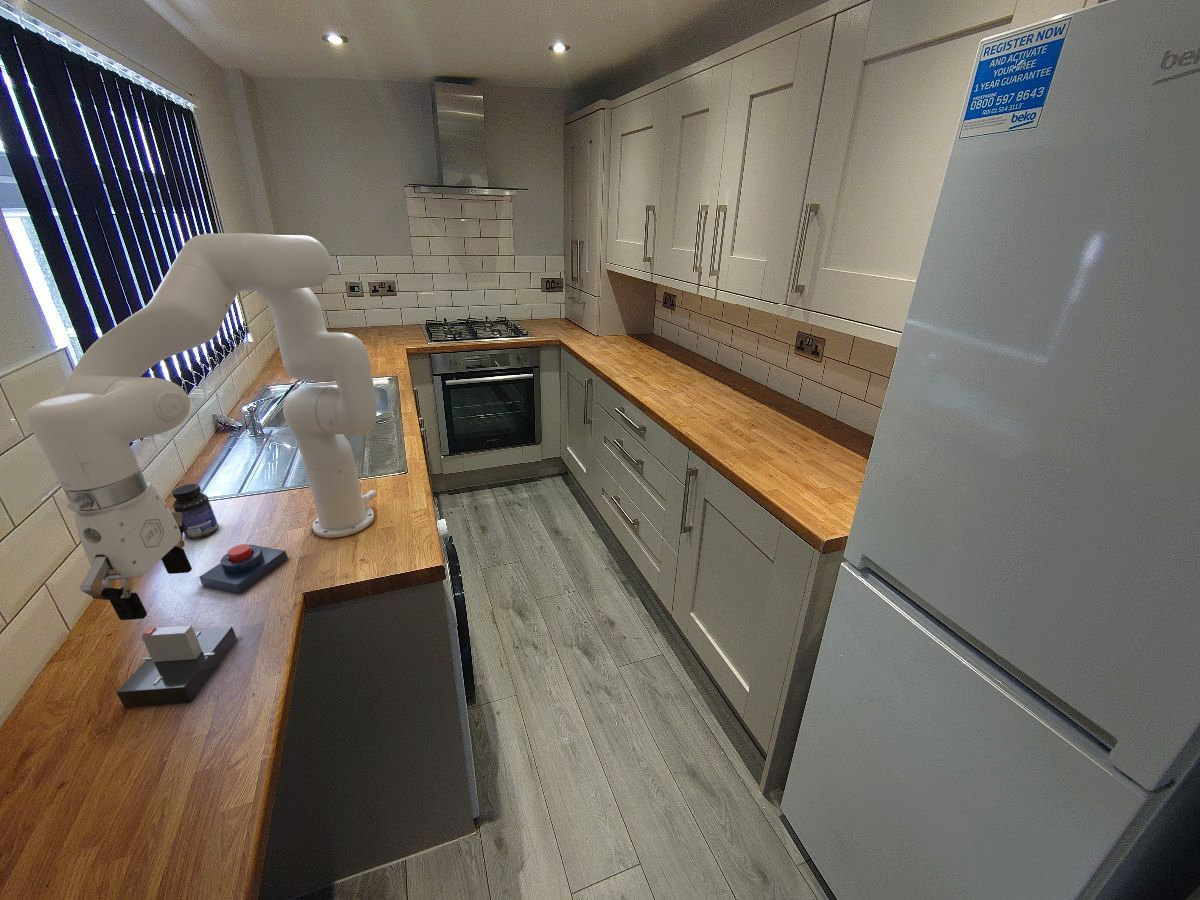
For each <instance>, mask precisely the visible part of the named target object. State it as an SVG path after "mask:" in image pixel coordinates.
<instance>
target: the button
mask: <svg viewBox="0 0 1200 900" xmlns="http://www.w3.org/2000/svg"><path fill="white" fill-rule="evenodd" d="M227 553H228V555H229V558H230V561H231V562H239V561H242V560H245V559H248V558H249V557H251V556H252V551H251V548H250V546H249V544H246V543H243V544H237V545H235V546H233V547H231V548H230V549H228V550H227Z"/></svg>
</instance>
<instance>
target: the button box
mask: <svg viewBox="0 0 1200 900" xmlns="http://www.w3.org/2000/svg"><path fill="white" fill-rule="evenodd" d="M248 545H249V546H250V548H251V551H252V556H251V557H249V558H248V559H245V560H242V561H239V562H231V561H230V558H229V555H228V552H227V553H226V554H224V555H223V556H222V557H221V559H220V561H219V562H220V563H218V564H217V565H215V566H214V567H212V568H211V569H209V570H208V571H206V572H204V573H203V574H201V575H200V576H199V577H198V578H199V581H200V583H201V585H202V587H204V588H209V589H215V590H219V591H225V592H228V593H232V594H233V593H234V594H239V595H241V594H243V593H244V592H245V591H247V590H249V588H251V587H252V586H254V585H255V584H256V583H258V582H259V581H261V580H262V579H263V578H265V577H266V576H268V575H269V574H271V573H272V572H273V571H274V570H276V569H277V568H278V567H280V566H281V565H282V564H284V563H285V562H287V561H288V560H289V558H288V554H287V551H286V550H284V549H279V548H274V547H269V546H261V545H256V544H251V543H249V544H248Z"/></svg>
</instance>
